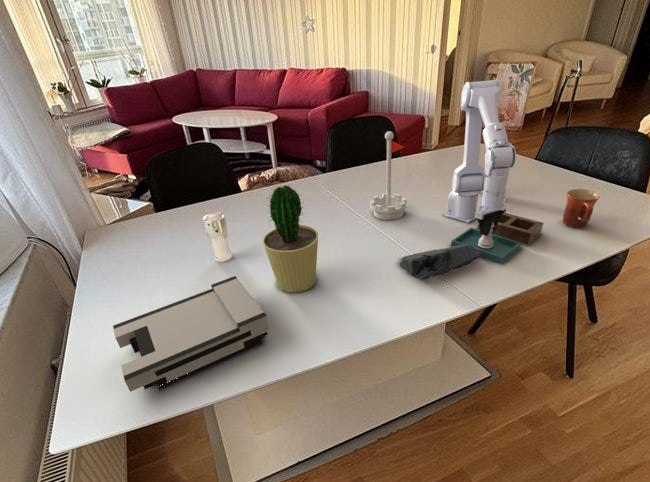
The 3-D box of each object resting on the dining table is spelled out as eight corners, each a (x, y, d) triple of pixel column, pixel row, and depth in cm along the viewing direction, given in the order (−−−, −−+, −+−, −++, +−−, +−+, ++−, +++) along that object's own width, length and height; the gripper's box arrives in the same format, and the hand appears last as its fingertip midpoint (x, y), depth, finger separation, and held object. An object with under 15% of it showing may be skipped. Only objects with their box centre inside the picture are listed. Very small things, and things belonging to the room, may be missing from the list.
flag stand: (366, 219, 146) (365, 136, 129) (375, 204, 155) (375, 126, 139) (402, 222, 141) (405, 137, 124) (409, 207, 151) (412, 126, 134)
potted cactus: (304, 302, 107) (290, 199, 91) (260, 289, 114) (240, 191, 98) (332, 273, 117) (324, 177, 101) (290, 263, 125) (276, 171, 109)
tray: (450, 246, 124) (451, 240, 123) (470, 232, 130) (470, 227, 129) (501, 263, 113) (502, 258, 112) (520, 248, 119) (521, 242, 118)
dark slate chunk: (491, 264, 110) (491, 248, 108) (418, 283, 107) (418, 267, 105) (460, 246, 123) (460, 232, 121) (395, 262, 120) (394, 248, 118)
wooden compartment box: (477, 229, 131) (479, 218, 129) (491, 220, 136) (493, 209, 134) (527, 245, 120) (530, 233, 118) (540, 234, 125) (543, 222, 123)
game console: (123, 346, 99) (110, 321, 94) (241, 299, 111) (235, 275, 106) (136, 403, 83) (122, 376, 79) (272, 341, 95) (266, 315, 91)
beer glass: (238, 252, 134) (228, 212, 125) (228, 263, 128) (217, 222, 120) (220, 251, 136) (210, 211, 128) (209, 261, 131) (198, 221, 122)
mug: (555, 217, 133) (563, 189, 127) (584, 217, 131) (593, 188, 125) (566, 234, 123) (575, 204, 118) (598, 235, 121) (609, 204, 116)
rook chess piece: (475, 243, 123) (478, 220, 119) (489, 241, 123) (493, 218, 119) (481, 250, 119) (485, 226, 115) (495, 248, 120) (500, 224, 115)
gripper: (495, 201, 105) (487, 245, 112) (520, 184, 112) (512, 227, 120) (470, 195, 110) (465, 238, 117) (496, 179, 117) (489, 220, 125)
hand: (487, 232), depth 119 cm, fingers closed on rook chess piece, 3 cm apart
